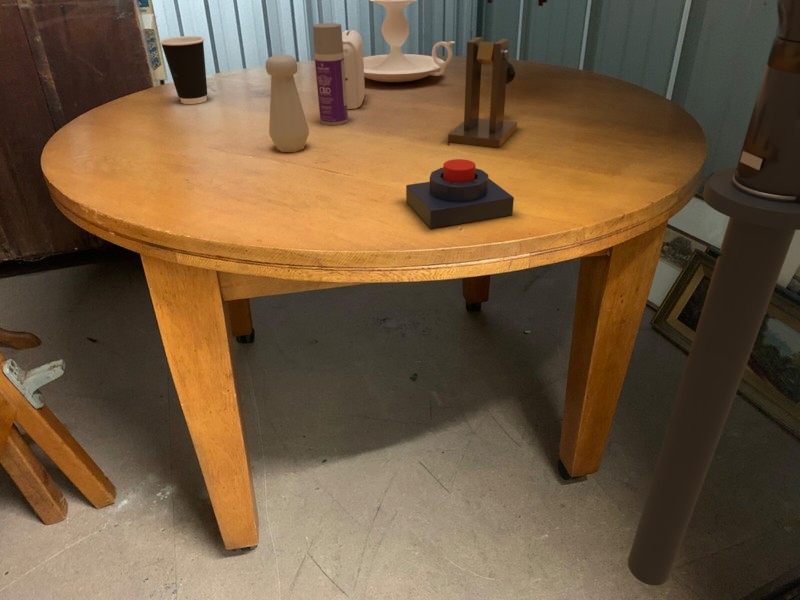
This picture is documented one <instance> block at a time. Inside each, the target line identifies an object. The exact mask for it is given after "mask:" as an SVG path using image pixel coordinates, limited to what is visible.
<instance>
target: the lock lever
mask: <svg viewBox="0 0 800 600" xmlns="http://www.w3.org/2000/svg"><path fill="white" fill-rule="evenodd" d="M494 43H495V42H493V41H492V42H490V41H483V42H479V48H478V54H477V60H478V61H479V62H480V63H481V65H486V66H487V65H488V66H491V67H492V68H493V56H494ZM515 77H516V68H515V66H514V64H512V63H511V62H510V61H508V64H507V78H506V85H509V84H511V83H512V82H513V81H514V79H515Z"/></svg>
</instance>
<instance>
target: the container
mask: <svg viewBox="0 0 800 600" xmlns="http://www.w3.org/2000/svg"><path fill="white" fill-rule="evenodd" d="M342 32H343V31H342V24H341V23H335V22H323V23H316V24H313V25H312V36H313V37H312V38H313V52H314V65H315V75H316V78H315V79H316V87H317V99H318V100H317V101H318V108H319V109H318V110H319V120H320V123H321V124H322V125H326V126H340V125H345V124H347V123H348V122H349V113H348V109H347V96H346V80H345V65H344V52H343V41H342Z"/></svg>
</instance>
